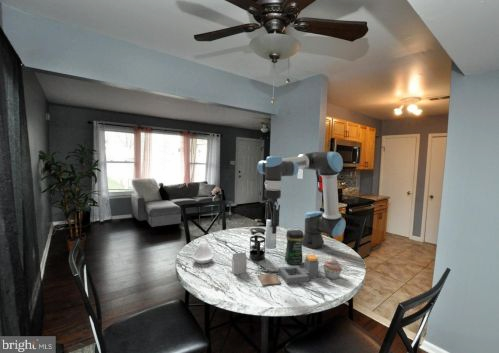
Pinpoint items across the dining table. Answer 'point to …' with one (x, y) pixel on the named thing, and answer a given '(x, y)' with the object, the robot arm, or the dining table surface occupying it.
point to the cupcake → (332, 268)
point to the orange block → (311, 258)
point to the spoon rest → (202, 253)
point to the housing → (299, 272)
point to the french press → (257, 244)
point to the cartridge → (269, 243)
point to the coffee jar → (294, 247)
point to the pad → (269, 279)
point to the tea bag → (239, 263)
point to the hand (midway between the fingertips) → (271, 237)
